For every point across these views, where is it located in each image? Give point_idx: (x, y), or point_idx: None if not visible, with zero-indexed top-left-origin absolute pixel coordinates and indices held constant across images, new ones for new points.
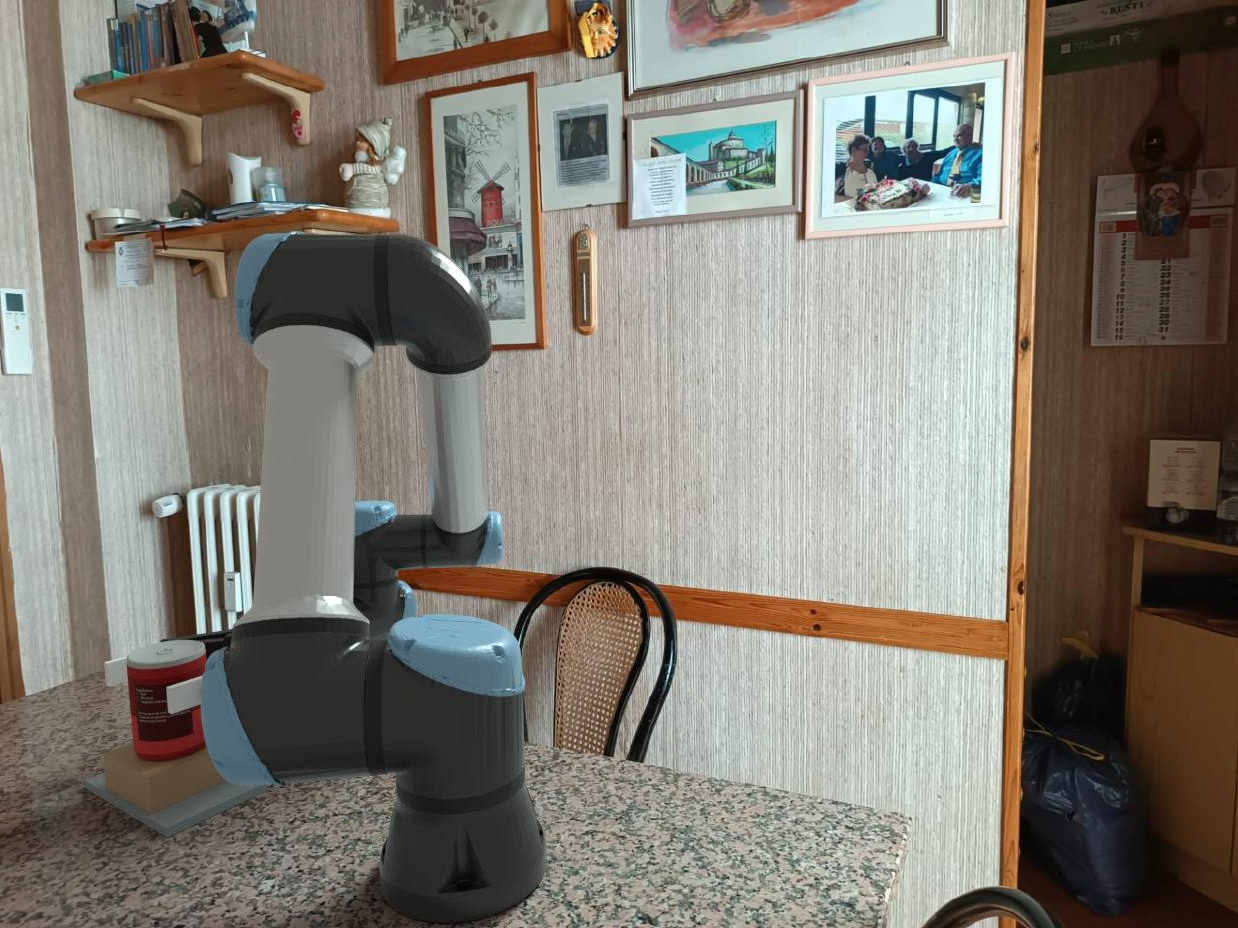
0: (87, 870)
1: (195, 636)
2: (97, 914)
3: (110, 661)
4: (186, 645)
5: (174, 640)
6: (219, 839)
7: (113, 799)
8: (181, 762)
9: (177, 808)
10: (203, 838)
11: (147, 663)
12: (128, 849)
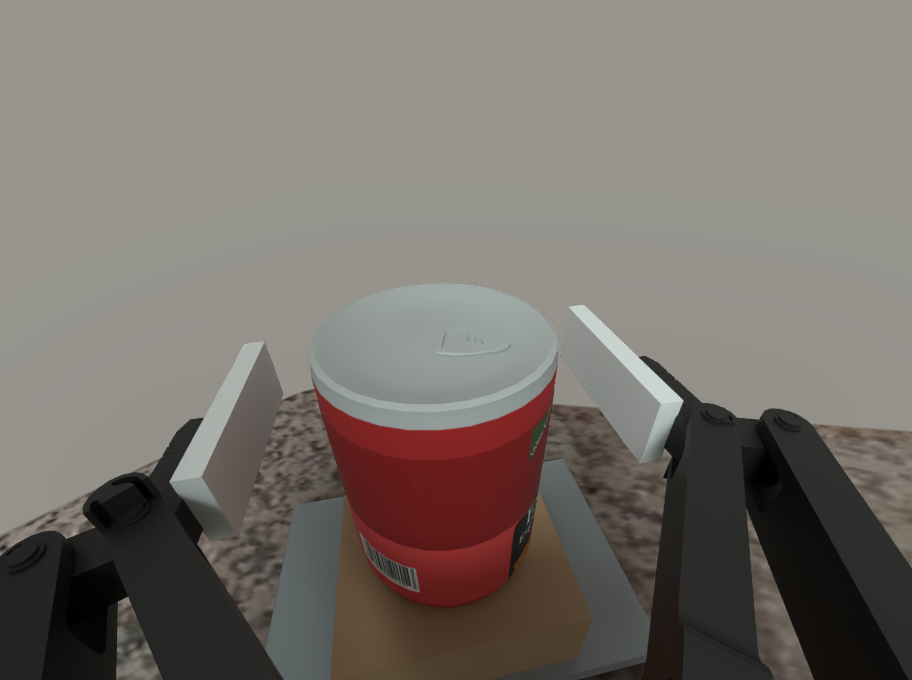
0: (324, 434)
1: (838, 525)
2: None
3: (584, 311)
4: (475, 382)
5: (544, 358)
6: None
7: None
8: (350, 513)
9: (336, 535)
10: (236, 555)
11: (364, 297)
12: (323, 472)
